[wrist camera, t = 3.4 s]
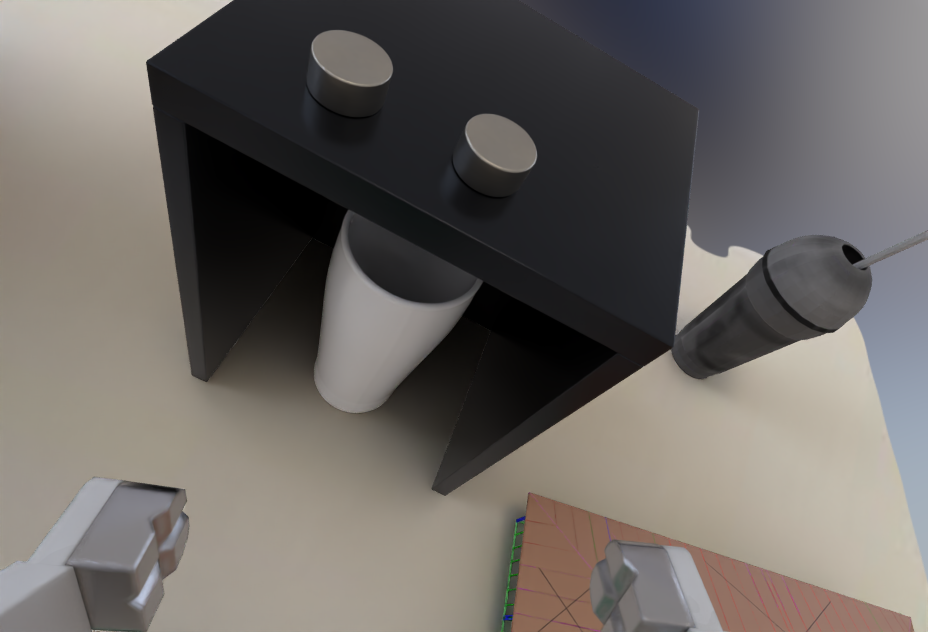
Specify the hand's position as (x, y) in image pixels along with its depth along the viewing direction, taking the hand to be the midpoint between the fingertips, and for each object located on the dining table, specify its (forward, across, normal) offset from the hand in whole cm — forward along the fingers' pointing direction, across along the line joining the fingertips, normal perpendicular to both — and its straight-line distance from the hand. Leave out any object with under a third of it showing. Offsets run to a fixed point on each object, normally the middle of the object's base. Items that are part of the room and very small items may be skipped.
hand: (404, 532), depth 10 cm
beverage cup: (+32, -26, +14) cm, 43 cm away
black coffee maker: (+23, +2, +13) cm, 27 cm away
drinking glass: (+21, +3, +14) cm, 26 cm away
